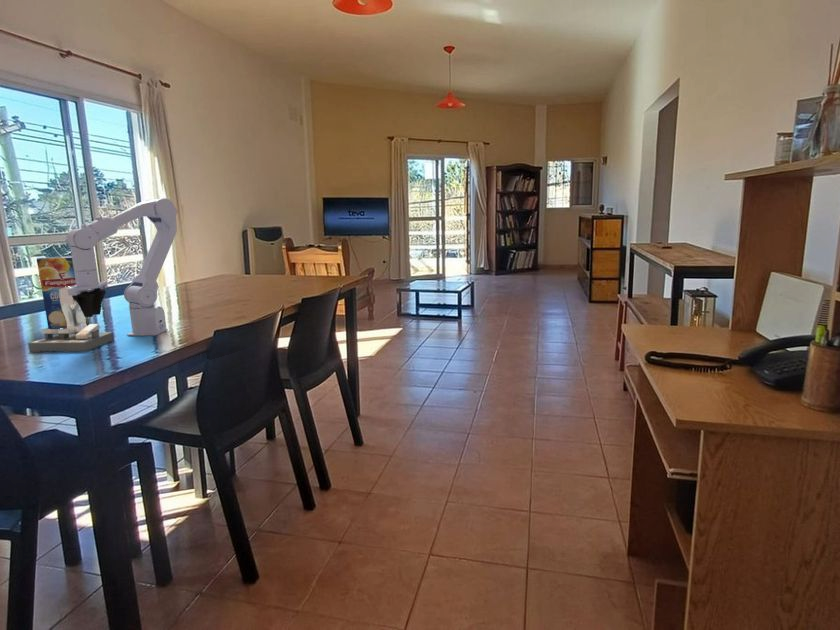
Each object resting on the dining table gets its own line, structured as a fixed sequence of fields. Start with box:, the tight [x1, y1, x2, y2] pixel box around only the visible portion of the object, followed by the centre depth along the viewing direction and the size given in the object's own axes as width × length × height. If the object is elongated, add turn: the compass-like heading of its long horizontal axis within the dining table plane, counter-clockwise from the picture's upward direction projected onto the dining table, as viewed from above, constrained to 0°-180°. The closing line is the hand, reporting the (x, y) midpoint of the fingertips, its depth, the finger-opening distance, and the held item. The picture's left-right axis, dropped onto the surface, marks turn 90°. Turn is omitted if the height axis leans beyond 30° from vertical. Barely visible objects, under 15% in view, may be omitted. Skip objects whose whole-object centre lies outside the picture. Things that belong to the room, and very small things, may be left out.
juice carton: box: [36, 255, 90, 330], centre depth 178 cm, size 12×8×24 cm, turn 125°
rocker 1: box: [40, 328, 58, 335], centre depth 152 cm, size 3×7×1 cm, turn 178°
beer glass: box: [59, 286, 87, 330], centre depth 168 cm, size 7×7×15 cm
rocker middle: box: [57, 328, 78, 334], centre depth 152 cm, size 3×7×1 cm, turn 178°
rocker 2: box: [75, 323, 101, 339], centre depth 152 cm, size 3×7×1 cm, turn 178°
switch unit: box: [27, 329, 115, 353], centre depth 152 cm, size 16×13×4 cm
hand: (92, 315), depth 154 cm, fingers open, 3 cm apart
